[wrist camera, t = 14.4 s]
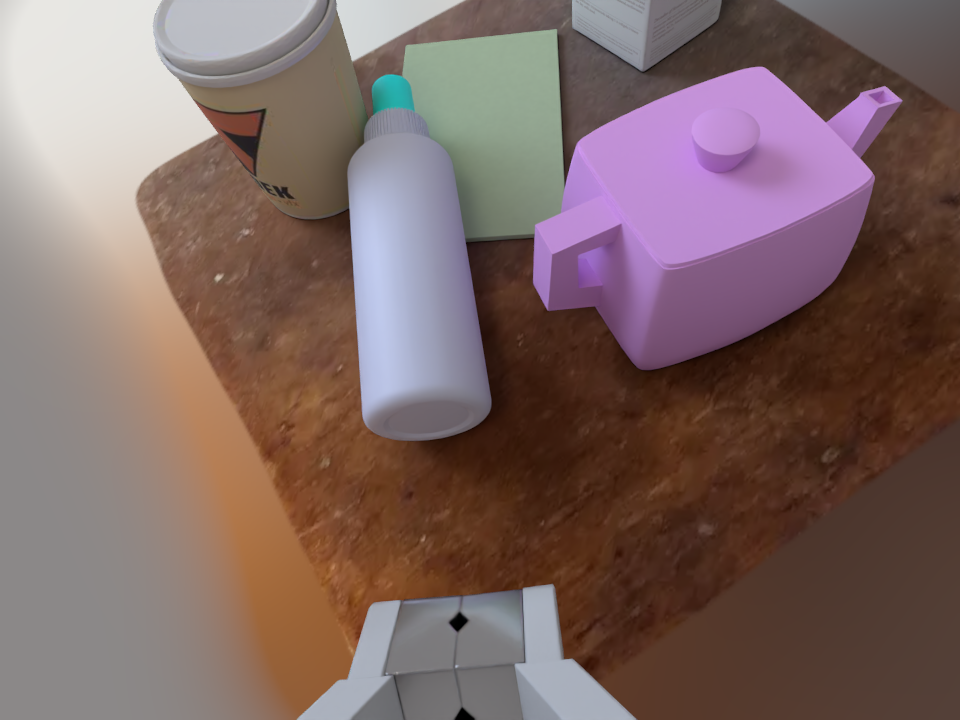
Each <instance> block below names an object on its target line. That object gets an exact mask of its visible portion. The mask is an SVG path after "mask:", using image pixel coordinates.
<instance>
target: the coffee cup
mask: <svg viewBox="0 0 960 720" xmlns="http://www.w3.org/2000/svg"><path fill="white" fill-rule="evenodd" d="M153 33H154V37H155V45H156V50H157V53H158V55H159V57H160V59H161V61H162V62H163V63H164V65H165V66H166V67H167V69H168V70H169V71H170V72H171V73H172V74H173V75H174V76H176V77H177V78H178V79H179V81H180V82H181V83H182V85H183V86H184V87H185V89H186V90H187V91H188V93H189V94H190V96H191V97H192V98H193V100H194V101H195V102H196V104H197V105H198V107H199V108H200V109H201V110H202V112H203V113H204V115H205V116H206V117H207V118H208V120H209V121H210V123H211V124H212V125H213V127H214V128H215V129H216V131H217V132H218V133H219V135H220V136H221V137H222V138H223V140H224V141H225V142H226V144H227V145H228V146H229V148H230V149H231V150H232V152H233V153H234V154H235V156H236V157H237V158H238V159H239V161H240V162H241V163H242V165H243V166H244V167H245V169H246V170H247V171H248V173H249V174H250V175H251V176H252V178H253V179H254V180H255V182H256V183H257V184H258V186H259V187H260V188H261V190H262V191H263V192H264V193H265V195H266V196H267V197H268V198H269V200H270V201H271V202H272V203H273V204H274V205H275V206H276V207H277V208H278V209H279V210H281V211H282V212H283V213H285V214H287V215H289V216H292V217H295V218H300V219H321V218H326V217H330V216H334V215H336V214H338V213H341V212H343V211H345V210H347V209H349V193H348V177H347V171H348V165H349V162H350V160H351V158H352V156H353V155H354V153H355V152H356V151H357V150H358V149H359V148H360V147H361V146H362V145H363V144H364V129H365V126H366V124H367V121H368V117H367V114H366V110H365V106H364V103H363V99H362V96H361V92H360V89H359V85H358V81H357V78H356V74H355V71H354V67H353V64H352V60H351V56H350V53H349V50H348V46H347V43H346V39H345V37H344V33H343V29H342V26H341V23H340V19H339V16H338V13H337V10H336V0H162V1H161V3H160V5H159V6H158V8H157V11H156V13H155V17H154V22H153Z"/></svg>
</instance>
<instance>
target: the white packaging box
mask: <svg viewBox="0 0 960 720" xmlns="http://www.w3.org/2000/svg"><path fill="white" fill-rule="evenodd" d="M721 2H722V0H572V27H573V28H574V29H575V30H577V31H578V32H580V33H582V34H583V35H585V36H587V37H588V38H590V39H591V40H593V41H595V42H596V43H598V44H599V45H601V46H603V47H604V48H606V49H607V50H609V51H611V52H612V53H614V54H615V55H617V56H618V57H620V58H622V59H623V60H625V61H626V62H628V63H629V64H631V65H633V66H634V67H636V68H637V69H639V70H641V71H643V72H644V71H645V70H647V69H649V68H650V67H652V66H653V65H655V64H656V63H658V62H659V61H660V60H662V59H663V58H665V57H666V56H668V55H669V54H671V53H672V52H674V51H675V50H676V49H678V48H679V47H681V46H682V45H684V44H685V43H687V42H688V41H689V40H691V39H692V38H694V37H695V36H697V35H698V34H699V33H701V32H702V31H704V30H705V29H707V28H708V27H710V26H711V25H712V24H713V23H715V22H716V21H717V20H718V17H719V13H720V7H721Z"/></svg>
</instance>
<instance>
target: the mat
mask: <svg viewBox="0 0 960 720" xmlns="http://www.w3.org/2000/svg"><path fill="white" fill-rule="evenodd" d="M402 77H403V78H405V79H406V80H407V81H408V82H409V84H410V86H411V90H412V96H413V102H414V108H415V112H416V113H418V115H420V116H421V117H422V118H423V119H424V120H425V121H426V124H427V126H428V130H429V135H430V139H432V140H434V141H435V142H437V143H438V144H440V145H441V146H442V147H443V148H444V149H445V150H446V151H447V153H448V154H449V156H450V158H451V160H452V163H453V167H454V173H455V179H456V186H457V192H458V198H459V204H460V210H461V216H462V222H463V229H464V235H465V241H466V242H476V241H491V240H507V239H522V238H535V225H536V224H538V223H540V222H543V221H545V220H547V219H549V218H552V217H554V216H556V215H558V214H561V208H562V200H563V194H564V189H565V183H564V163H563V143H562V122H561V102H560V82H559V61H558V41H557V29H554V30H545V31H536V32H526V33H517V34H508V35H499V36H489V37H480V38H471V39H462V40H452V41H443V42H434V43H425V44H415V45H406V49H405V58H404V66H403V75H402Z"/></svg>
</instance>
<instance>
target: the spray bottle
mask: <svg viewBox="0 0 960 720" xmlns="http://www.w3.org/2000/svg"><path fill="white" fill-rule="evenodd" d="M372 102H373V117H371V118H370V119H369V120H368V121H367V124H366V126H365V129H364V144H363V145H362V146H361V147H360V148H359V149H358V150H357V151H356V152H355V153H354V155H353V156H352V158H351V160H350V162H349V165H348V171H347V177H348V193H349V209H350V225H351V241H352V257H353V272H354V288H355V304H356V320H357V336H358V352H359V368H360V384H361V399H362V415H363V420H364V422H365V424H366V426H367V427H368V428H369V429H370V430H371V431H372V432H374V433H375V434H377V435H380V436H382V437H385V438H389V439H394V440H402V441H425V440H434V439H440V438H445V437H449V436H453V435H456V434H459V433H462V432H465V431H467V430H469V429H471V428H473V427H475V426H477V425H478V424H479V423H481V422H482V421H483V420H484V419H485V418H486V417H487V415H488V414H489V412H490V409H491V394H490V388H489V382H488V376H487V370H486V364H485V358H484V351H483V345H482V339H481V333H480V327H479V321H478V315H477V308H476V302H475V296H474V290H473V284H472V278H471V272H470V265H469V259H468V253H467V247H466V241H465V235H464V229H463V222H462V216H461V210H460V204H459V198H458V192H457V186H456V179H455V173H454V167H453V163H452V160H451V158H450V156H449V154H448V153H447V151H446V150H445V149H444V148H443V147H442V146H441V145H440V144H438V143H437V142H435V141H434V140H432V139H430V135H429V130H428V126H427V124H426V121H425V120H424V119H423V118H422V117H421V116H420V115H418V113H416V112H415V108H414V102H413V96H412V90H411V86H410V84H409V82H408V81H407V80H406V79H405V78H403V77H401V76H398V75H385V76H382V77H380V78H379V79H377V80H376V81H375V83H374V84H373V87H372Z"/></svg>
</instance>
